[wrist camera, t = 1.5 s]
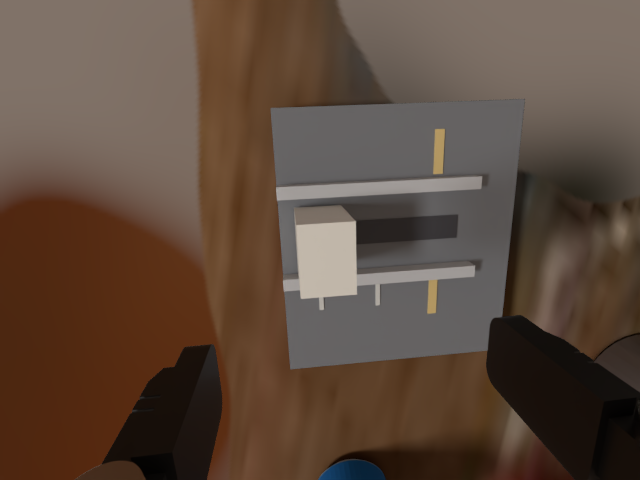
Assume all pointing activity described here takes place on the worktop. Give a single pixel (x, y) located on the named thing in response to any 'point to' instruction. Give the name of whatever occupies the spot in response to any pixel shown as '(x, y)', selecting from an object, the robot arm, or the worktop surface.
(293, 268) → the fader console
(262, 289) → the worktop surface
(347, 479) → the beverage can
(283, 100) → the worktop surface
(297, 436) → the worktop surface
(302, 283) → the fader tab
